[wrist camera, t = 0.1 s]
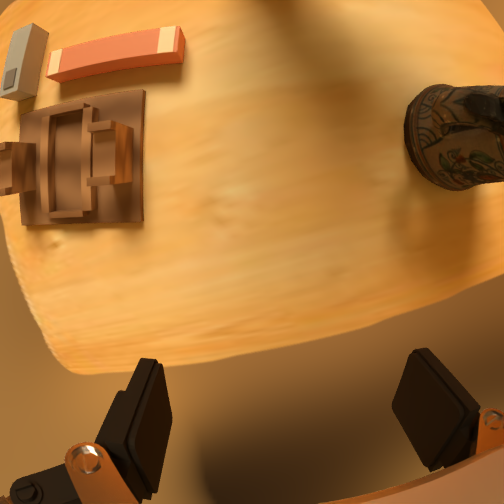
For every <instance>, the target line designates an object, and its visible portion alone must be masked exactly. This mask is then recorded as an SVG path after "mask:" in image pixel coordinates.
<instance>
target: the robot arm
mask: <svg viewBox="0 0 504 504" xmlns="http://www.w3.org/2000/svg"><path fill="white" fill-rule="evenodd" d="M392 409H393V412H394V414H395V415H396V417H397V419H398V420H399V422H400V424H401V426H402V427H403V429H404V431H405V433H406V434H407V436H408V438H409V440H410V442H411V443H412V445H413V447H414V449H415V451H416V452H417V454H418V456H419V458H420V460H421V462H422V463H423V465H424V466H426V467H428V469H429V471H430V472H432V471H435V470H437V469H440V468H441V467H442V466H444V468H445V469H443V470H440V471H438V472H435V473H432V474H430V475H427V476H425V477H422V478H419V479H416V480H413V481H410V482H407V483H404V484H401V485H398V486H395V487H391V488H388V489H384V490H381V491H378V492H373V493H370V494H366V495H362V496H357V497H353V498H348V499H343V500H338V501H332V502H327V503H320V504H504V413H503V412H502V411H500V410H498V409H495V408H488V409H485V410H483V411H482V413H481V414H480V413H479V412H478V411H479V409H480V405H479V404H478V403H477V402H476V401H475V399H474V398H473V397H472V396H471V395H470V394H469V393H468V391H467V390H466V389H465V388H464V387H463V386H462V385H461V384H460V382H459V381H458V380H457V379H456V378H455V377H454V376H453V375H452V374H451V372H449V370H448V369H447V368H446V367H445V366H444V365H443V364H442V363H441V362H440V360H439V359H438V358H437V357H436V356H435V355H434V354H433V353H432V352H431V351H430V350H429V349H428V348H420V349H415V350H413V352H412V353H411V354H410V355H409V357H408V360H407V363H406V366H405V369H404V372H403V375H402V378H401V380H400V383H399V386H398V389H397V391H396V394H395V397H394V399H393V402H392ZM171 425H172V412H171V407H170V402H169V397H168V391H167V386H166V381H165V375H164V369H163V365H162V364H160V363H158V361H157V360H156V359H148V358H141V359H140V360H139V363H138V365H137V367H136V369H135V371H134V374H133V376H132V378H131V380H130V382H129V384H128V387H127V389H126V391H122V390H120V391H118V393H117V394H116V396H115V398H114V400H113V403H112V405H111V407H110V409H109V411H108V413H107V415H106V418H105V420H104V422H103V425H102V426H101V429H100V431H99V433H98V435H97V438H96V440H95V442H94V443H92V442H83V443H78V444H76V445H73V446H72V447H71V448H70V449H68V451H67V453H66V455H65V459H64V461H65V463H64V464H61V465H59V466H56V467H53V468H50V469H47V470H44V471H41V472H38V473H35V474H31V475H28V476H25V477H22V478H20V479H17V480H16V481H15V482H14V483H13V484H12V486H11V488H10V496H8V497H7V498H6V497H5V496H2V497H0V504H141V503H142V500H143V499H147V500H151V497H152V493H157V492H158V487H159V482H160V477H161V472H162V468H163V463H164V458H165V453H166V448H167V444H168V439H169V435H170V430H171Z"/></svg>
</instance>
